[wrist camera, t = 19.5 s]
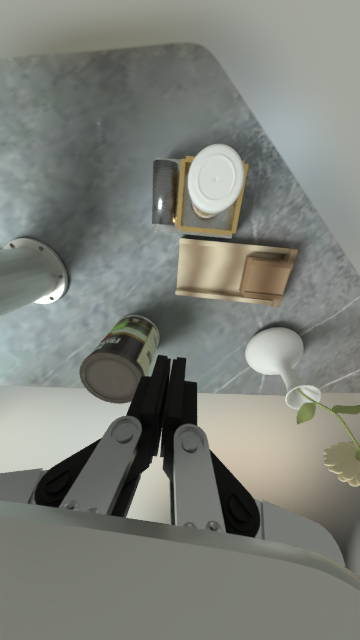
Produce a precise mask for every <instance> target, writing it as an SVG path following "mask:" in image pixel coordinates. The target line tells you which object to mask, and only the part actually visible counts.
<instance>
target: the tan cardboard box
mask: <svg viewBox="0 0 360 640" xmlns="http://www.w3.org/2000/svg"><path fill="white" fill-rule="evenodd" d="M293 266H294V264H293V263H292V262H289V261H286V260H282V259H273V258H263V257H253V256H246V260H245V265H244V269H243V274H242V278H241V283H240V287H239V291H240V292H241V294H242V295H243V296H244V297H252V298H261V299H271V300H280V301H281V300H282V299H283V296H282V295H283V292H284V289H285V285H286V282H287V279H288V276H289V273H290V270H291V269H293Z"/></svg>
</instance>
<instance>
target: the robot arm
mask: <svg viewBox="0 0 360 640" xmlns="http://www.w3.org/2000/svg"><path fill="white" fill-rule="evenodd" d="M67 286H68V277H67V272H66V269H65V266H64V264H63V262H62V261H61V259H60V258H59V256H58V255H57V254H56V253H55V252H54V251H53V250H52V249H51V248H50V247H48V246H47V245H46V244H44V243H42V242H40V241H38V240H35V239H30V238H19V239H14V240H12V241H10V242H9V243H7V244H6V245H5V247H4V248H3V249H0V316H2V315H4V314H7V313H9V312H11V311H14V310H16V309H18V308H21V307H23V306H25V305H28V304H30V303H32V302H35V303H39V304H49V303H52V302H55V301H57V300H58V299H60V298H61V297H62V296H63V295H64V294H65V292H66V289H67ZM170 361H171V359H168V358H167V356H163V355H158V357H157V360H156V364H155V367H154V370H153V373H152V376H151V377H149V376H141V378H140V381H139V384H138V386H137V389H136V392H135V394H134V397H133V399H132V402H131V405H130V407H129V410H128V412H127V415H126V416H122V417H120V418H118V419H116V420H115V421H113V422H112V423H111V425H110V426H109V427H108V429H107V431H106V432H105V434H104V435H103V437H102V438H101V439H99V440H97V441H96V442H94V443H92V444H91V445H89V446H87V447H85V448H84V449H82V450H80V451H79V452H77V453H75V454H74V455H72V456H71V457H69V458H67V459H65V460H64V461H62V462H60V463H59V464H57V465H55V466H54V467H52V468H51V469H50V470H45V471H43V469H42V468H41V469H33V470H24V471H16V472H9V473H0V640H360V577H358V576H357V575H355V574H354V573H352V572H351V571H349V570H348V569H347V568H346V567H345V563H344V560H343V556H342V554H341V552H340V550H339V547H338V545H337V543H336V542H335V540H334V539H333V537H332V536H331V534H330V533H329V532H328V531H327V530H326V529H325V528H324V527H322V526H321V525H319V524H318V523H316V522H314V521H311V520H309V519H307V518H304V517H302V516H300V515H297V514H295V513H293V512H290V511H288V510H286V509H283V508H280V507H279V506H276V505H274V504H271V503H269V502H267V501H264V500H262V502H260V501H258V500H256V499H253V497H252V496H251V494H250V493H249V492H248V491H247V490H246V489H245V488H244V487H243V486H242V484H241V483H240V482H239V481H238V480H237V479H236V478H235V477H234V476H233V474H232V473H231V472H230V471H229V470H228V469H227V468H226V467H225V466H224V465H223V463H222V462H221V461H220V460H219V459H218V458H217V457H216V456H215V455H214V453H213V452H212V451H211V450H210V449H209V445H208V440H207V437H206V434H205V433H204V431H203V430H202V429H201V428H200V427H198V426H197V382H189V381H184V379H185V366H186V358H180V357H177V360H176V359H173V364H172V369H171V375H170V380H169V374H170ZM161 431H162V439H161V454H160V457H164V460H163V470H164V472H165V473H166V475H167V476H168V478H169V510H170V511H169V512H170V513H169V516H170V524H163V523H156V522H149V521H143V520H137V519H129V518H126V516H127V513H128V511H129V508H130V505H131V502H132V500H133V497H134V494H135V491H136V489H137V486H138V483H139V480H140V477H141V473H142V472H143V471H144V470H146V469H147V468H148V467H149V464H150V463H152V458H153V456H157V454H158V448H159V442H160V437H161Z"/></svg>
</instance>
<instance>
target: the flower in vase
mask: <svg viewBox="0 0 360 640" xmlns="http://www.w3.org/2000/svg"><path fill="white" fill-rule="evenodd" d="M303 351H304V348H303V342H302V340H301V338H300V336H299V335H298V334H297V333H295V332H294V331H292V330H290V329H287V328H281V327H275V328H269V329H266V330H263V331H261V332H259V333H258V334H256V335H255V336H254V337H253V338H252V339H251V340H250V341H249V343H248V345H247V347H246V350H245V357H246V360H247V362H248V364H249V365H250V366H251V367H252V368H253V369H254V370H256V371H257V372H259V373H262V374H266V375H278V374H280V375H281V376H282V378H283V380H284V382H285V385H286V388H287V394H286V398H285V401H286V403H287V405H288V406H289V407H291V408H293V409H296V410H299V411H298V414H297V424H300V423H303V422H306V421H309V420H311V419H312V418H313V416H314V413H315V408H316V406H315V405H316V404H317V405H319V406H321V407H323V408H325V409H326V410H328V411H330V412H331V413H333V414H334V415H335V416H336V417H337V418H338V419H339V420H340V422H341V423H342V424H343V426H344V428H345V429H346V431H347V432H348V434H349V436H350V437H351V439H352V441H351V442H348V443H345V442H340V443H338V445H332V446H331V448H332V449H326V450H324V453H325V454H326V455H324V459H326V460H325V461H324V464H325V465H327V466H328V470H329V471H332V472H334V473H337V474H339V475H338V479H339V480H341V481H343V482H347V481H348V483H349V484H350V485H352V486H359V485H360V444H359V443H358V442H357V441H356V440H355V438H354V437H353V435H352V433H351V432H350V430H349V429H348V427H347V426H346V424H345V422H344V421H343V420H342V418H341V417H340V416H339V415H338V414H337V413H343V414H358V413H360V405H357V406H339V405H337V406H334V407H333V408H332V410H331V409H329V408H328V407H326V406H324V405H322V404H320V403H319V401H320V399H321V395H322V394H321V391H320V390H319V389H318V388H317V387H315V386H312V385H308V384H306V383H305V382H303V381H302V380H301V379H300V378H299V377H298V376H297V375H296V373H295V372H294V370H293V368H294V367H295V366H296V365H297V364H298V363H299V361H300V360H301V358H302V356H303Z"/></svg>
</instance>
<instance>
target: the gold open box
mask: <svg viewBox="0 0 360 640" xmlns="http://www.w3.org/2000/svg"><path fill="white" fill-rule="evenodd" d="M195 157H196V156H186V159H182V158H181V160H180V159H168V158H156V160H155V161H154V162H153V207H152V224H154V231H157V232H168V233H178V234H189V235H199V236H210V237H220V238H231V239H232V234H236V229H237V224H238V219H239V213H240V208H241V203H242V198H243V192H244V187H245V182H246V177H247V172H248V166H249V164H244V160H242V163H243V167H244V182H243V187H242V190H241V192H240V194H239V196H238V197H237V199H236V200H235V201H234V203H233V204H232V205H231V206H230V207H228V208H227V209H226V210H224V211H222V212H220V213H218V215H217V216H215V217H214V218H212V219H209V220H204V219H200V218H199V217H197V216H196V215H195V213H194V212H193V210H192V206H191V197H190V194H189V190H188V174H189V169H190V166H191V164H192V162H193V160H194V158H195Z"/></svg>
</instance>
